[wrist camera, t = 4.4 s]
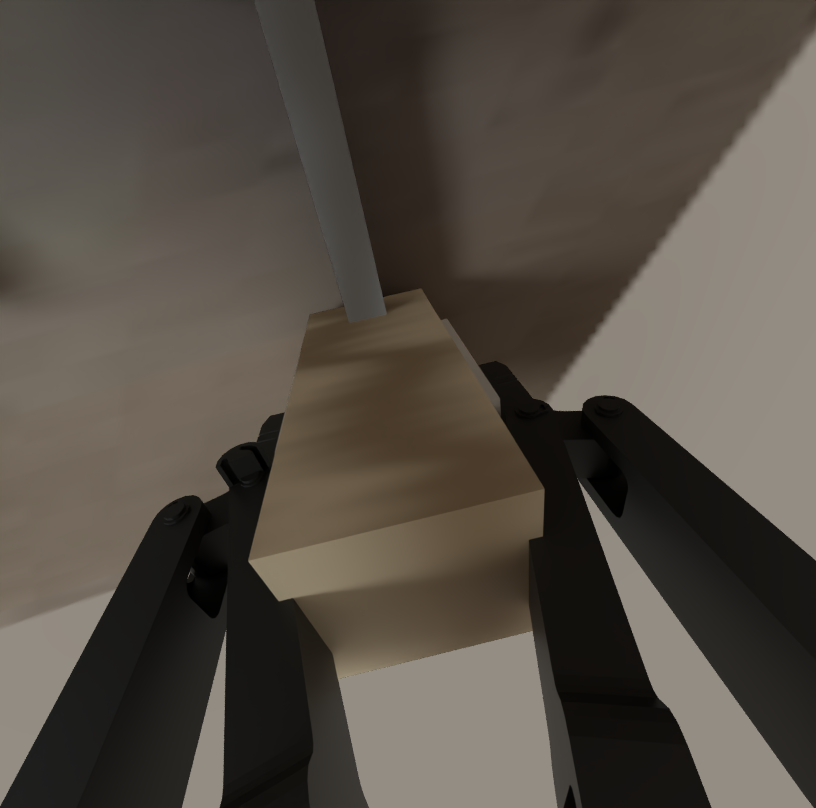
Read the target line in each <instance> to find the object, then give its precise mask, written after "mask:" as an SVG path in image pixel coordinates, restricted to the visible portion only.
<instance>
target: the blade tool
mask: <svg viewBox="0 0 816 808" xmlns="http://www.w3.org/2000/svg"><path fill="white" fill-rule="evenodd" d="M254 3H255V6H256V10H257V13H258V17H259V20H260V23H261V27H262V30H263V33H264V37H265V40H266V44H267V47H268V50H269V54H270V57H271V61H272V64H273V67H274V71H275V74H276V77H277V81H278V84H279V88H280V91H281V94H282V98H283V101H284V104H285V108H286V111H287V115H288V118H289V121H290V125H291V128H292V131H293V135H294V138H295V142H296V145H297V148H298V152H299V155H300V158H301V162H302V165H303V169H304V172H305V175H306V179H307V182H308V185H309V189H310V192H311V196H312V199H313V202H314V206H315V209H316V212H317V216H318V219H319V223H320V226H321V229H322V233H323V236H324V240H325V243H326V246H327V250H328V253H329V256H330V260H331V263H332V267H333V270H334V273H335V277H336V280H337V283H338V287H339V290H340V294H341V297H342V300H343V304H344V307H339V308H335V309H331V310H327V311H322V312H318V313H314V314H310V316H309V320H308V324H307V328H306V332H305V336H304V340H303V344H302V348H301V352H300V356H299V360H298V364H297V368H296V372H295V376H294V380H293V384H292V388H291V392H290V396H289V400H288V404H287V408H286V412H285V416H284V420H283V424H282V428H281V432H280V436H279V440H278V444H277V448H276V452H275V456H274V460H273V464H272V468H271V472H270V476H269V480H268V484H267V488H266V492H265V496H264V500H263V504H262V508H261V512H260V516H259V520H258V524H257V528H256V531H255V535H254V539H253V543H252V547H251V551H250V555H249V559H248V561H249V563H250V564H251V565H252V567H253V568H254V569H255V571H256V572H257V573H258V575H259V576H260V577H261V579H262V580H263V581H264V583H265V584H266V585H267V586H268V588H269V589H270V590H271V592H272V593H273V594H274V596H275V597H276V598H277V600H278V601H282V600H286V599H291V598H293V599H294V600H295V601H296V603H297V604H298V606H299V607H300V608H301V610H302V611H303V613H304V614H305V615H306V617H307V618H308V620H309V621H310V623H311V624H312V625H313V627H314V628H315V630H316V631H317V632H318V634H319V635H320V637H321V638H322V639H323V641H324V642H325V644H326V645H327V646H328V648H329V649H330V651H331V652H332V653H333V658H334V663H335V668H336V672H337V677H338V679H341V678H344V677H349V676H352V675H357V674H361V673H365V672H369V671H373V670H377V669H381V668H385V667H389V666H393V665H397V664H401V663H405V662H409V661H413V660H417V659H421V658H425V657H429V656H433V655H437V654H441V653H445V652H449V651H453V650H457V649H461V648H465V647H470V646H474V645H478V644H481V643H485V642H489V641H494V640H498V639H502V638H506V637H510V636H514V635H518V634H522V633H526V632H530V631H533V629H532V623H531V616H530V610H529V540H530V539H534V538H538V537H542V536H543V520H544V492H545V489H544V487H543V485H542V484H541V482H540V481H539V479H538V477H537V476H536V474H535V472H534V471H533V469H532V468H531V466H530V464H529V463H528V461H527V459H526V458H525V456H524V455H523V453H522V451H521V450H520V448H519V446H518V445H517V443H516V442H515V440H514V438H513V437H512V435H511V434H510V432H509V430H508V429H507V427H506V425H505V424H504V422H503V421H502V419H501V417H500V416H499V414H498V412H497V411H496V409H495V408H494V406H493V404H492V403H491V401H490V399H489V398H488V396H487V395H486V393H485V391H484V390H483V388H482V386H481V385H480V383H479V382H478V380H477V378H476V377H475V375H474V373H473V372H472V370H471V369H470V367H469V365H468V364H467V362H466V360H465V359H464V357H463V356H462V354H461V352H460V351H459V349H458V347H457V346H456V344H455V343H454V341H453V339H452V338H451V336H450V334H449V333H448V331H447V330H446V328H445V326H444V325H443V323H442V321H441V320H440V318H439V317H438V315H437V313H436V312H435V310H434V309H433V307H432V305H431V304H430V302H429V300H428V299H427V297H426V296H425V294H424V292H423V291H422V289H421V288H420V289H416V290H412V291H407V292H403V293H399V294H395V295H390V296H386V297H383V295H382V291H381V287H380V282H379V278H378V274H377V269H376V265H375V261H374V256H373V252H372V248H371V243H370V239H369V235H368V230H367V226H366V222H365V217H364V213H363V209H362V204H361V200H360V196H359V191H358V187H357V183H356V178H355V174H354V170H353V165H352V161H351V157H350V152H349V148H348V144H347V139H346V135H345V131H344V126H343V122H342V118H341V113H340V109H339V105H338V100H337V96H336V92H335V87H334V83H333V79H332V74H331V70H330V66H329V61H328V57H327V53H326V48H325V44H324V40H323V35H322V31H321V27H320V22H319V18H318V14H317V9H316V5H315V0H254Z"/></svg>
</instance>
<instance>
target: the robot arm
mask: <svg viewBox="0 0 816 808" xmlns="http://www.w3.org/2000/svg"><path fill="white" fill-rule="evenodd" d="M441 321H442V323H443V325H444V326H445V328H446V330H447V331H448V333H449V334H450V336H451V338H452V339H453V341H454V343H455V344H456V346H457V347H458V349H459V351H460V352H461V354H462V356H463V357H464V359H465V360H466V362H467V364H468V365H469V367H470V369H471V370H472V372H473V373H474V375H475V377H476V378H477V380H478V382H479V383H480V385H481V386H482V388H483V390H484V391H485V393H486V395H487V396H488V398H489V399H490V401H491V403H492V404H493V406H494V408H495V409H496V411H497V412H498V414H499V416H500V417H501V419H502V421H503V422H504V424H505V425H506V427H507V429H508V430H509V432H510V434H511V435H512V437H513V438H514V440H515V442H516V443H517V445H518V446H519V448H520V450H521V451H522V453H523V455H524V456H525V458H526V459H527V461H528V463H529V464H530V466H531V468H532V469H533V471H534V472H535V474H536V476H537V477H538V479H539V481H540V482H541V484H542V485H543V487H544V489H545V492H544V520H543V536H542V537H538V538H534V539H530V540H529V610H530V616H531V623H532V629H533V636H534V641H535V648H536V655H537V661H538V668H539V674H540V680H541V687H542V694H543V700H544V707H545V713H546V720H547V726H548V732H549V740H550V748H551V760H552V769H553V778H554V785H555V792H556V799H557V806H558V808H711V805H710V803H709V800H708V797H707V795H706V792H705V790H704V787H703V785H702V782H701V779H700V776H699V774H698V771H697V769H696V766H695V764H694V761H693V758H692V756H691V753H690V750H689V748H688V745H687V743H686V740H685V738H684V736H683V734H682V731H681V729H680V727H679V725H678V723H677V721H676V719H675V717H674V716H673V714H672V713H671V711H670V709H669V708H668V707H667V706H666V705H665V704H664V703H663V702H662V701H661V700H659V698H658V697H657V695H656V694H655V692H654V690H653V688H652V685H651V683H650V681H649V678H648V675H647V672H646V669H645V667H644V664H643V661H642V658H641V656H640V653H639V650H638V647H637V645H636V642H635V639H634V636H633V633H632V630H631V627H630V625H629V622H628V619H627V616H626V613H625V611H624V608H623V605H622V602H621V599H620V597H619V594H618V591H617V589H616V585H615V583H614V580H613V577H612V574H611V572H610V569H609V566H608V563H607V561H606V557H605V555H604V552H603V549H602V546H601V543H600V541H599V538H598V535H597V532H596V529H595V527H594V524H593V521H592V518H591V515H590V513H589V510H588V507H587V504H586V501H585V499H584V496H583V493H582V490H581V487H580V485H579V482H580V483H581V484H582V486H583V487H584V489H585V490H586V491H587V492H588V494H589V495H590V497H591V498H592V500H593V501H594V502H595V504H596V505H597V507H598V508H599V509H600V511H601V512H602V514H603V515H604V516H605V518H606V519H607V521H608V522H609V523H610V525H611V526H612V528H613V529H614V530H615V532H616V533H617V535H618V536H619V537H620V539H621V540H622V542H623V543H624V544H625V546H626V547H627V548H628V550H629V551H630V553H631V554H632V555H633V557H634V558H635V560H636V561H637V562H638V564H639V565H640V567H641V568H642V569H643V571H644V572H645V574H646V575H647V576H648V578H649V579H650V581H651V582H652V583H653V585H654V586H655V588H656V589H657V590H658V592H659V593H660V595H661V596H662V597H663V599H664V600H665V601H666V603H667V604H668V606H669V607H670V608H671V610H672V611H673V613H674V614H675V615H676V617H677V618H678V619H679V621H680V622H681V624H682V625H683V627H684V628H685V629H686V631H687V632H688V634H689V635H690V636H691V638H692V639H693V641H694V642H695V643H696V645H697V646H698V647H699V649H700V650H701V651H702V653H703V654H704V656H705V657H706V659H707V660H708V661H709V663H710V664H711V666H712V667H713V668H714V670H715V671H716V673H717V674H718V675H719V677H720V678H721V680H722V681H723V682H724V684H725V685H726V687H727V688H728V689H729V691H730V692H731V694H732V695H733V696H734V698H735V699H736V700H737V702H738V703H739V705H740V706H741V707H742V709H743V710H744V711H745V713H746V714H747V716H748V717H749V719H750V720H751V721H752V723H753V724H754V725H755V727H756V728H757V730H758V731H759V733H760V734H761V735H762V736H763V738H764V740H765V741H766V742H767V744H768V745H769V746H770V748H771V749H772V751H773V752H774V753H775V755H776V756H777V758H778V759H779V760H780V762H781V763H782V765H783V766H784V767H785V769H786V770H787V772H788V773H789V774H790V776H791V777H792V779H793V780H794V781H795V783H796V784H797V785H798V787H799V788H800V790H801V791H802V792H803V794H804V795H805V797H806V798H807V799H808V800H809V802H810V803H811V804H812V806H813V807H814V808H816V561H815V560H814V559H813V558H812V557H811V556H810V555H809V554H807V553H806V552H805V551H804V550H803V549H801V548H800V547H799V546H798V545H797V544H795V543H794V542H793V541H792V540H791V539H790V538H788V537H787V536H786V535H785V534H784V533H783V532H782V531H780V530H779V529H778V528H777V527H776V526H775V525H773V524H772V523H771V522H770V521H769V520H768V519H766V518H765V517H764V516H763V515H762V514H760V513H759V512H758V511H757V510H756V509H755V508H753V507H752V506H751V505H750V504H749V503H748V502H746V501H745V500H744V499H743V498H742V497H740V496H739V495H738V494H737V493H736V492H735V491H734V490H732V489H731V488H730V487H729V486H727V485H726V484H725V483H724V482H723V481H722V480H721V479H719V478H718V477H717V476H716V475H715V474H714V473H712V472H711V471H710V470H709V469H708V468H707V467H705V466H704V465H703V464H702V463H701V462H700V461H698V460H697V459H696V458H695V457H694V456H692V455H691V454H690V453H689V452H688V451H687V450H685V449H684V448H683V447H682V446H681V445H680V444H678V443H677V442H676V441H675V440H674V439H673V438H671V437H670V436H669V435H668V434H667V433H666V432H664V431H663V430H662V429H661V428H660V427H658V426H657V425H656V424H655V423H654V422H653V421H651V420H650V419H649V418H648V417H647V416H645V415H644V414H643V413H642V412H641V411H640V410H639V409H637V408H636V407H635V406H634V405H632V404H631V403H630V402H628V401H626V400H625V399H622V398H619V397H615V396H606V395H604V396H595V397H592V398H590V399H588V400H587V401H586V402H584V403H583V408H582V411H554V410H553V409H552V408H551V407H550V405H549V404H547V403H545V402H544V401H541V400H537V399H533V398H532V397H531V396H530V394H529V393H528V392H527V391H526V389H525V388H524V387H523V386H522V385H521V383H520V382H519V381H517V378H516V377H515V376H514V375H513V374H512V372H511V371H510V370H509V368H508V367H507V366H506V365H503V364H501V363H499V362H497V361H494V362H490V363H486V364H482V365H478V364H477V363H476V361H475V360H474V358H473V357H472V355H471V354H470V352H469V351H468V349H467V348H466V346H465V345H464V343H463V342H462V340H461V339H460V337H459V336H458V334H457V333H456V331H455V330H454V328H453V327H452V325H451V324H450V322H449V321H448V319H443V320H441ZM299 356H300V354H299ZM298 360H299V358H298ZM297 364H298V362H297ZM296 368H297V366H296ZM295 372H296V370H295ZM294 376H295V374H294ZM293 380H294V378H293ZM292 384H293V382H292ZM291 388H292V386H291ZM290 392H291V390H290ZM289 396H290V394H289ZM288 400H289V398H288ZM287 404H288V402H287ZM286 408H287V406H286ZM285 412H286V410H285ZM285 412H284V413H280V414H276V415H272V416H270V417H269V418H268V419H267V420H266V421H265V423H264V424H263V425H262V427H261V430H260V433H259V437H258V440H257V442H247V443H244V444H240V445H238V446H236V447H234V448H232V449H230V450H229V451H227V452H226V453H225V454H223V455H222V457H221V458H220V459H219V460H218V462H217V464H216V469H217V470H218V472H219V473H220V475H221V476H222V478H223V479H224V480H225V482H226V483H227V485H228V486H229V491H228V492H227V493H225V494H223V495H221V496H219V497H217V498H215V499H212V500H210V501H208V502H206V503H203V502H202V500H201V499H200V498H199V497H197V496H194V495H191V496H184V497H182V498H179V499H176V500H175V501H173V502H171V503H169V504H168V505H167V506H165V507H164V508H163V509H162V510H161V511H160V512H159V513H158V514H157V515H156V517H155V518H154V520H153V521H152V523H151V525H150V527H149V529H148V531H147V532H146V534H145V536H144V538H143V540H142V542H141V544H140V546H139V547H138V549H137V551H136V553H135V555H134V557H133V559H132V561H131V562H130V564H129V566H128V568H127V570H126V572H125V574H124V576H123V577H122V579H121V581H120V583H119V585H118V587H117V589H116V591H115V593H114V594H113V596H112V598H111V600H110V602H109V604H108V606H107V608H106V609H105V611H104V613H103V615H102V617H101V619H100V621H99V622H98V624H97V626H96V628H95V630H94V632H93V634H92V636H91V638H90V639H89V641H88V643H87V645H86V647H85V649H84V651H83V653H82V654H81V656H80V658H79V660H78V662H77V664H76V665H75V667H74V669H73V671H72V673H71V675H70V677H69V679H68V680H67V682H66V684H65V686H64V688H63V690H62V692H61V694H60V696H59V697H58V700H57V701H56V703H55V705H54V707H53V709H52V711H51V712H50V714H49V716H48V718H47V720H46V722H45V724H44V725H43V727H42V729H41V731H40V733H39V735H38V737H37V739H36V740H35V742H34V744H33V746H32V748H31V750H30V752H29V754H28V755H27V757H26V759H25V761H24V763H23V765H22V767H21V769H20V770H19V772H18V774H17V776H16V778H15V780H14V782H13V784H12V786H11V787H10V789H9V791H8V793H7V795H6V797H5V799H4V800H3V802H2V804H1V806H0V808H182V804H183V800H184V796H185V792H186V788H187V784H188V780H189V776H190V772H191V768H192V764H193V760H194V756H195V752H196V748H197V744H198V740H199V736H200V732H201V728H202V724H203V720H204V716H205V712H206V708H207V703H208V700H209V696H210V692H211V688H212V684H213V680H214V676H215V672H216V668H217V664H218V660H219V655H220V651H221V648H222V643H223V640H224V636H225V632H226V678H225V727H224V778H223V795H222V801H221V804H220V808H369V807H368V804H367V802H366V799H365V797H364V794H363V791H362V788H361V785H360V780H359V777H358V772H357V767H356V762H355V758H354V753H353V748H352V743H351V739H350V734H349V729H348V724H347V720H346V715H345V710H344V705H343V701H342V696H341V691H340V687H339V682H338V677H337V672H336V668H335V663H334V658H333V653H332V652H331V651H330V649H329V648H328V646H327V645H326V644H325V642H324V641H323V639H322V638H321V637H320V635H319V634H318V632H317V631H316V630H315V628H314V627H313V625H312V624H311V623H310V621H309V620H308V618H307V617H306V615H305V614H304V613H303V611H302V610H301V608H300V607H299V606H298V604H297V603H296V601H295V600H294V599H293V598H291V599H286V600H282V601H278V600H277V598H276V597H275V596H274V594H273V593H272V592H271V590H270V589H269V588H268V586H267V585H266V584H265V583H264V581H263V580H262V579H261V577H260V576H259V575H258V573H257V572H256V571H255V569H254V568H253V567H252V565H251V564H250V563H249V561H248V559H249V555H250V551H251V547H252V543H253V539H254V535H255V531H256V528H257V524H258V520H259V516H260V512H261V508H262V504H263V500H264V496H265V492H266V488H267V484H268V480H269V476H270V472H271V468H272V464H273V460H274V456H275V452H276V448H277V444H278V440H279V436H280V432H281V428H282V424H283V420H284V416H285ZM577 478H578V479H577ZM578 480H579V482H578ZM189 572H190V575H189ZM188 575H189V577H188ZM226 630H227V631H226Z"/></svg>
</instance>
